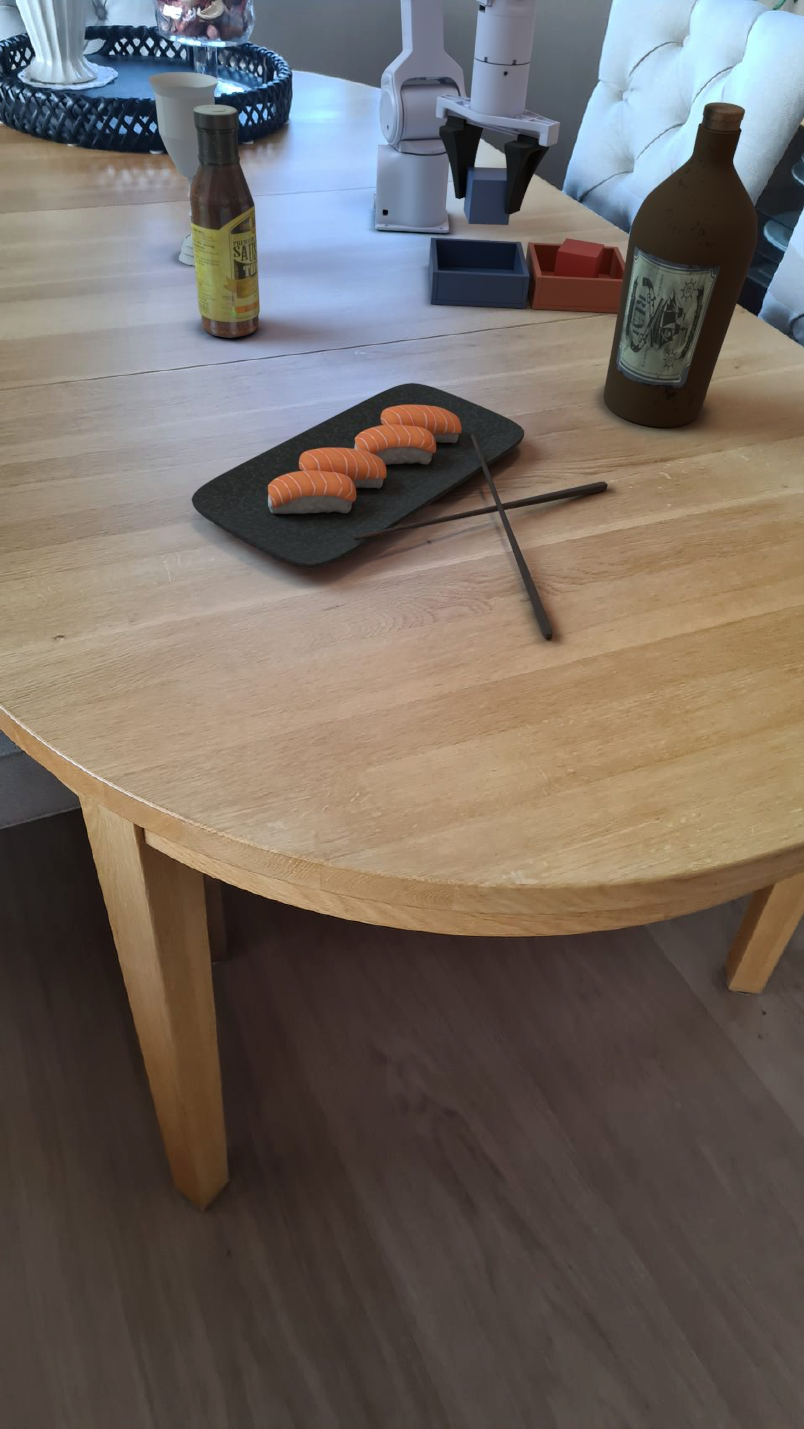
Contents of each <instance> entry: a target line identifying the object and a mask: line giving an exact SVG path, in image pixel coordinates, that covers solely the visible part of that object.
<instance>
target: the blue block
mask: <svg viewBox="0 0 804 1429" xmlns="http://www.w3.org/2000/svg"><path fill="white" fill-rule="evenodd" d="M506 181H507V171H506V167H487V166H486V167H485V166H484V167H483V166H475V167H467V177H466V190H465V198H464V199H463V200H464V201H463V213H464V216H465V218H466V221H467V224H468V225H487V226H488V225H489V226H491V225H492V226H493V225H495V226H509V223H510V217H511V216H510V215H508V214H505V212H504V201H505V192H506Z"/></svg>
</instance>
